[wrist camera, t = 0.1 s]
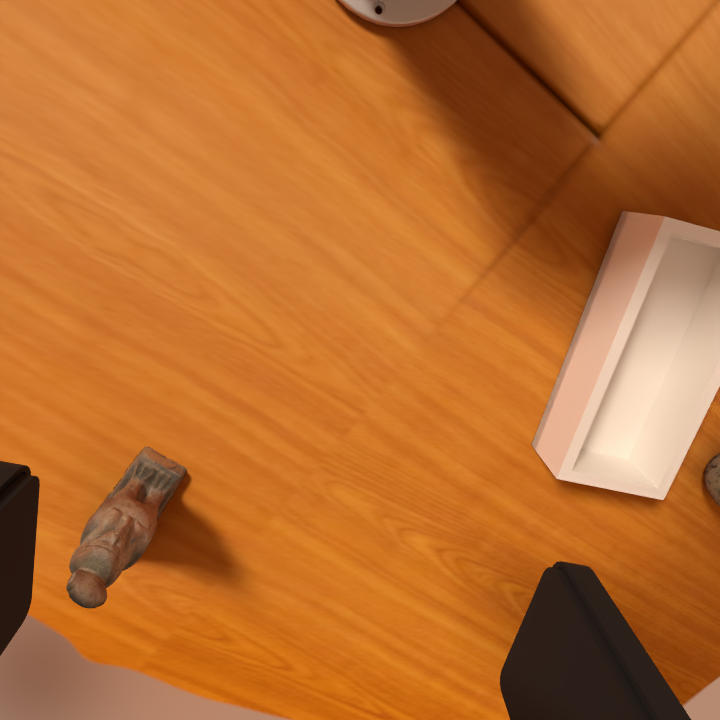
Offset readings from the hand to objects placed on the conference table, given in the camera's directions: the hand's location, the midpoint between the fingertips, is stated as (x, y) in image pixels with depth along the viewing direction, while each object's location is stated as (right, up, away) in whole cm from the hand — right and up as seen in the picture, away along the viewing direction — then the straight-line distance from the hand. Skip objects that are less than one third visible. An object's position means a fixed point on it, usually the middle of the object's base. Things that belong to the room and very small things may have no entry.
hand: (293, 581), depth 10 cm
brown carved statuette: (-20, -9, +41) cm, 47 cm away
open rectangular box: (+25, +5, +38) cm, 46 cm away
